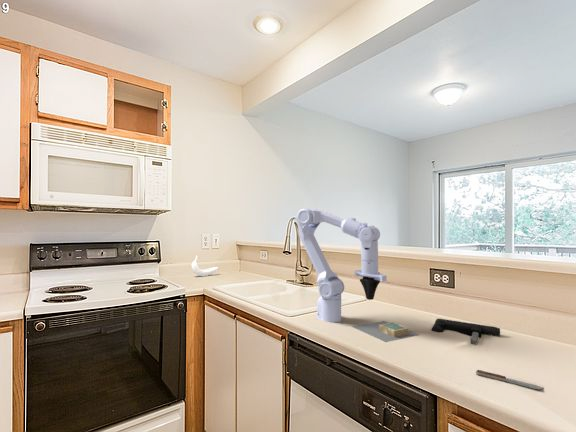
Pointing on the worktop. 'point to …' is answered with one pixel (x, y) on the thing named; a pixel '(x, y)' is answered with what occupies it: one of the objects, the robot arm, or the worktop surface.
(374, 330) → the mat
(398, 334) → the wooden block
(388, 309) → the worktop surface
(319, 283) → the robot arm
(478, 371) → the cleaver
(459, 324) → the black toy gun
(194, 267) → the banana
